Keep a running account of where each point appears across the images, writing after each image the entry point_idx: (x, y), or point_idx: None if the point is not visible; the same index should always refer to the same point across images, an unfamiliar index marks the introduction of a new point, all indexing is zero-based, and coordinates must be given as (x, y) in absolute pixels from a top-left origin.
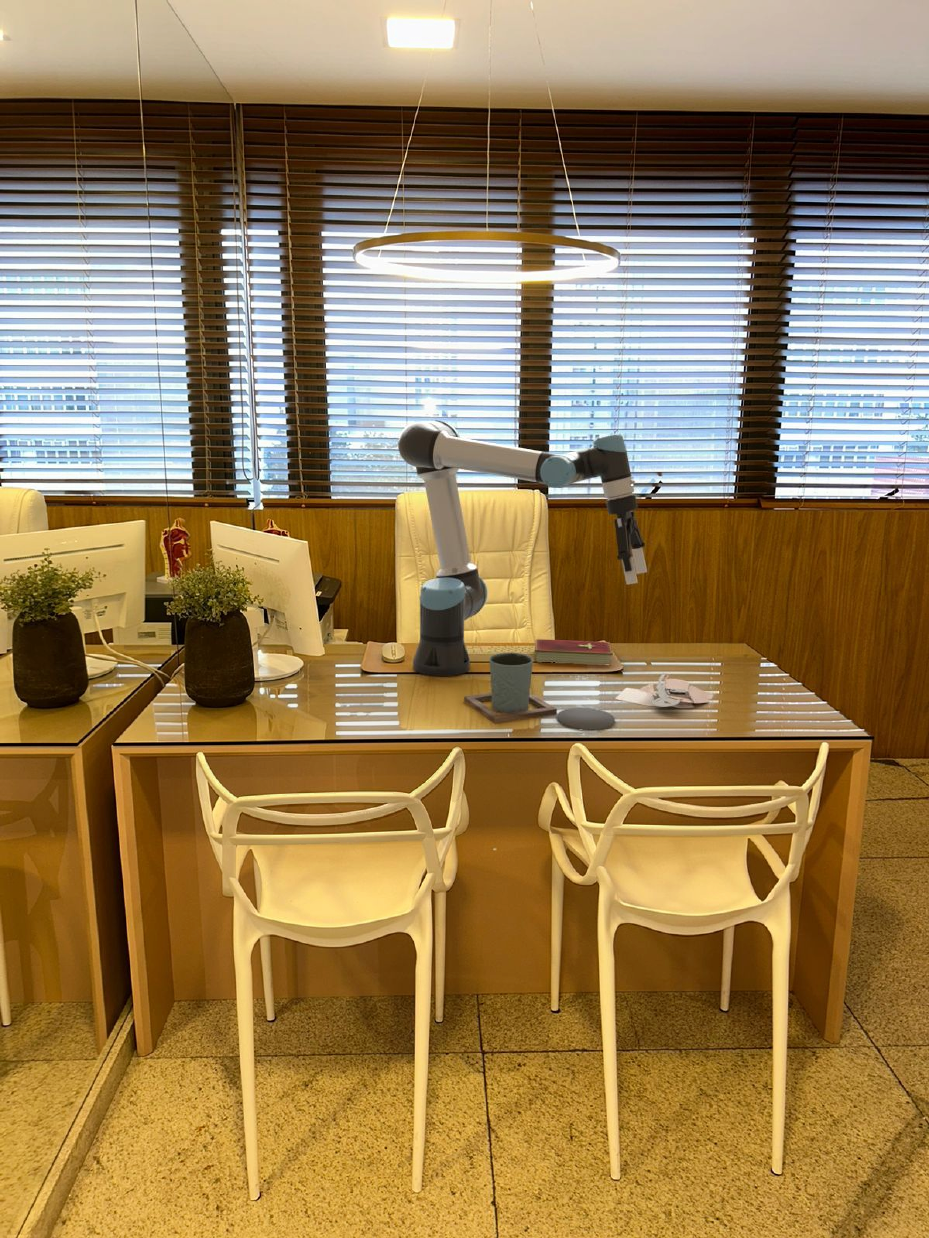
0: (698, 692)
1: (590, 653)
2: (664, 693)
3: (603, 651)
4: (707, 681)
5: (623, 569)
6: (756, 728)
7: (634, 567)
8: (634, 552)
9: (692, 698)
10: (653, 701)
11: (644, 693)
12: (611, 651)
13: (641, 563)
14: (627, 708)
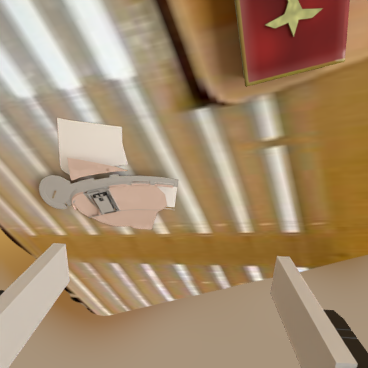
0: (140, 217)
1: (239, 32)
2: (89, 187)
3: (257, 62)
4: (203, 221)
5: (7, 288)
6: None
7: (29, 332)
8: (321, 354)
9: (109, 214)
10: (55, 176)
11: (108, 155)
12: (262, 80)
13: (287, 313)
14: (30, 142)
